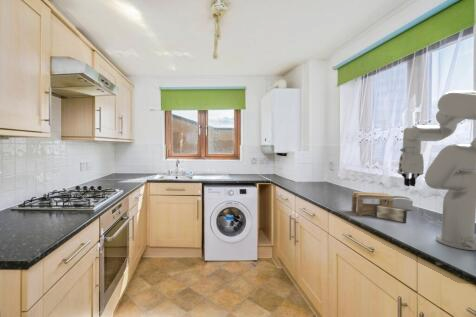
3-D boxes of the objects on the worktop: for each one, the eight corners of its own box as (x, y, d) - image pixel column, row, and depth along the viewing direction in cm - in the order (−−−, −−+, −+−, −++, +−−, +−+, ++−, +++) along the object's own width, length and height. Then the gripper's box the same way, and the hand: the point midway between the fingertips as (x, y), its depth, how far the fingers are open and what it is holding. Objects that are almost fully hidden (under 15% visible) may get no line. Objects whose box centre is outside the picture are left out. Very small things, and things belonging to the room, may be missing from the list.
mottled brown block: (374, 216, 128) (374, 206, 128) (375, 216, 129) (375, 205, 129) (406, 222, 119) (406, 211, 118) (406, 221, 120) (406, 210, 120)
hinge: (407, 208, 150) (411, 195, 146) (411, 212, 145) (415, 199, 141) (380, 206, 152) (383, 193, 148) (383, 211, 147) (386, 197, 143)
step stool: (392, 217, 128) (393, 196, 128) (358, 215, 130) (359, 194, 130) (382, 212, 138) (383, 192, 138) (351, 211, 140) (352, 191, 139)
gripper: (399, 150, 117) (397, 186, 118) (433, 151, 116) (431, 187, 116) (391, 150, 125) (389, 184, 125) (422, 151, 123) (420, 185, 124)
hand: (409, 185), depth 121 cm, fingers closed
